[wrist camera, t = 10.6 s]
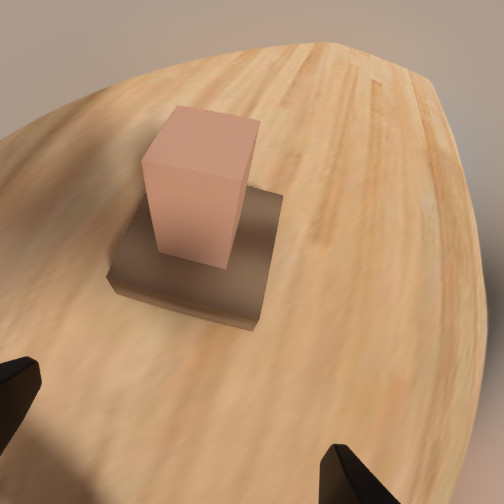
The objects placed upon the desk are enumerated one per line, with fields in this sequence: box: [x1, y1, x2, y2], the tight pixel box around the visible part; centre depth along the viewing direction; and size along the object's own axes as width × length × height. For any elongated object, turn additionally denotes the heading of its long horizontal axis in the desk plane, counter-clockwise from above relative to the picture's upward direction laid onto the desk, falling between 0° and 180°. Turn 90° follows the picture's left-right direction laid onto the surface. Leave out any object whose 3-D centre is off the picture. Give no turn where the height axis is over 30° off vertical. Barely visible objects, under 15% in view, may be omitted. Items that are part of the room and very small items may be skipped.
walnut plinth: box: [106, 186, 283, 331], centre depth 24 cm, size 11×11×3 cm
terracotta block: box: [141, 106, 260, 269], centre depth 19 cm, size 5×5×9 cm
